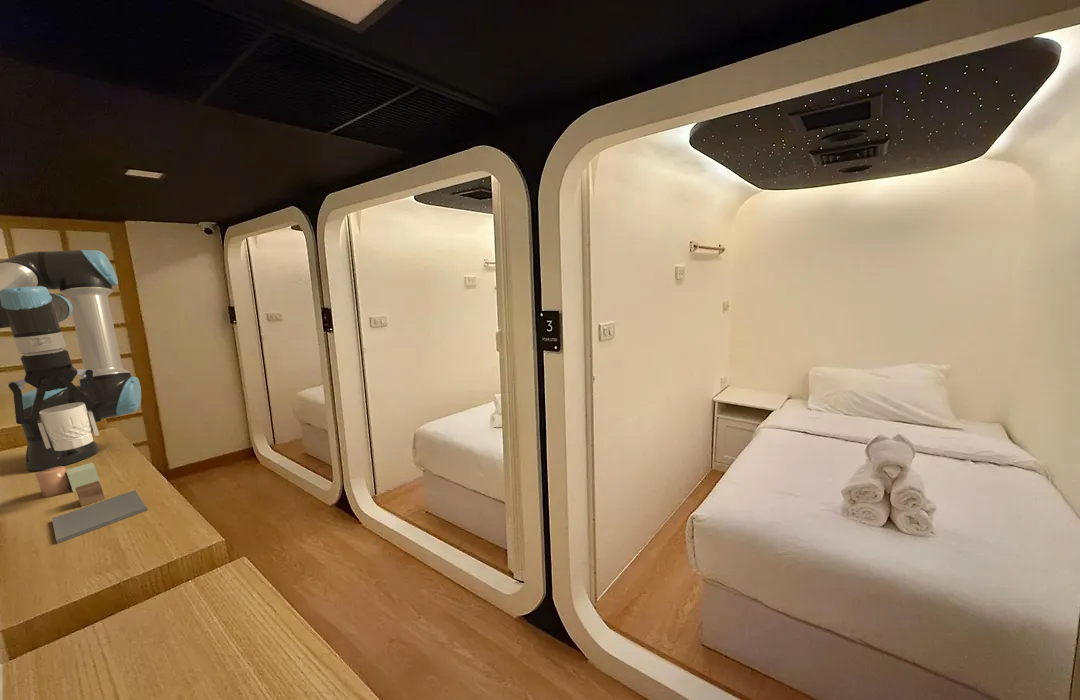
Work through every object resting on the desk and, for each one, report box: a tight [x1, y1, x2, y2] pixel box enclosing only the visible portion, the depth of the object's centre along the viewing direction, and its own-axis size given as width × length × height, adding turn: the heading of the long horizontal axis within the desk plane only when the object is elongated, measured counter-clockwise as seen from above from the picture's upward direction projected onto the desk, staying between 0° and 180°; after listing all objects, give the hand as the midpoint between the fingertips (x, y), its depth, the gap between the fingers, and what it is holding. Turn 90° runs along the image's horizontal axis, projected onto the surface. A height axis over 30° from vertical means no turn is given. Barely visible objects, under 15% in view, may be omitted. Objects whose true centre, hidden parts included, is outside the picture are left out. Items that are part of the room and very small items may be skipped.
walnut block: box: [75, 480, 106, 508], centre depth 104 cm, size 4×4×4 cm
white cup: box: [39, 402, 94, 451], centre depth 105 cm, size 8×8×10 cm
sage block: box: [66, 462, 101, 493], centre depth 112 cm, size 5×5×5 cm
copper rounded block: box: [35, 465, 72, 498], centre depth 110 cm, size 5×5×6 cm
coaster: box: [51, 489, 148, 544], centre depth 97 cm, size 14×14×1 cm
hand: (73, 440), depth 106 cm, fingers closed on white cup, 8 cm apart
